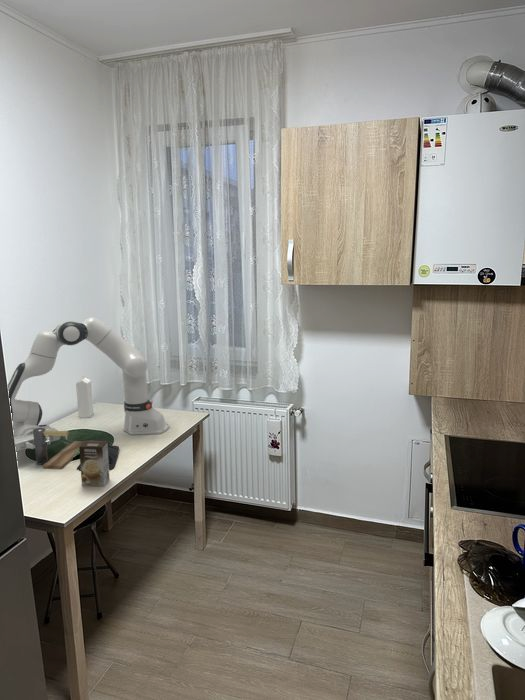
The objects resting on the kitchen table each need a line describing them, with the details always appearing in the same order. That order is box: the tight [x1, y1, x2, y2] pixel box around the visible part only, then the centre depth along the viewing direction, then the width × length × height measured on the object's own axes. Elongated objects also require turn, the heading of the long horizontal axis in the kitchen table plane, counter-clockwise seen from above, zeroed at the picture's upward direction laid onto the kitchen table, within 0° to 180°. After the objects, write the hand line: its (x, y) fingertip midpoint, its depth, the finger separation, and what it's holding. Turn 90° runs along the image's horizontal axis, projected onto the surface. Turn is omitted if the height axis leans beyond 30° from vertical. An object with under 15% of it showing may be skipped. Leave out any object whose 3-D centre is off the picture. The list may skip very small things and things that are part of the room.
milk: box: [75, 374, 94, 419], centre depth 263 cm, size 6×6×22 cm
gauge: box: [33, 428, 70, 465], centre depth 205 cm, size 15×5×14 cm, turn 84°
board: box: [42, 440, 85, 470], centre depth 215 cm, size 8×26×1 cm, turn 174°
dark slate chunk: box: [76, 444, 120, 472], centre depth 210 cm, size 15×22×5 cm
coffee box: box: [79, 439, 110, 487], centre depth 189 cm, size 9×6×16 cm
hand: (41, 445), depth 205 cm, fingers closed on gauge, 5 cm apart
